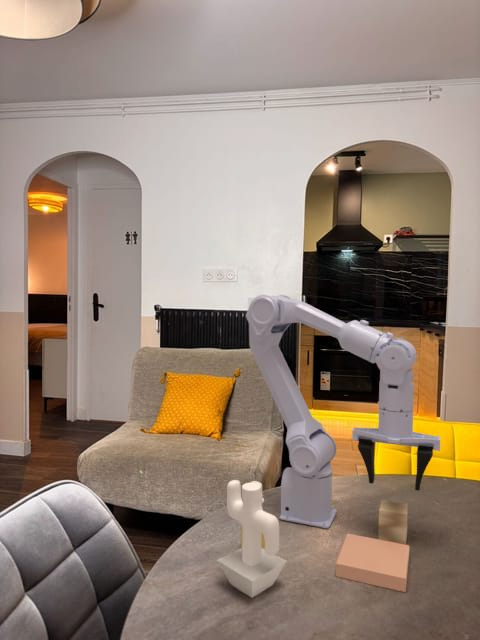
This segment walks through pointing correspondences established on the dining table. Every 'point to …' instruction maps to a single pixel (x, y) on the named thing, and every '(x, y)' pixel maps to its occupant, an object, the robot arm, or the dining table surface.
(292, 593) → the dining table surface
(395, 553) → the riser
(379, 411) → the robot arm
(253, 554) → the figurine
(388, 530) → the beech block
